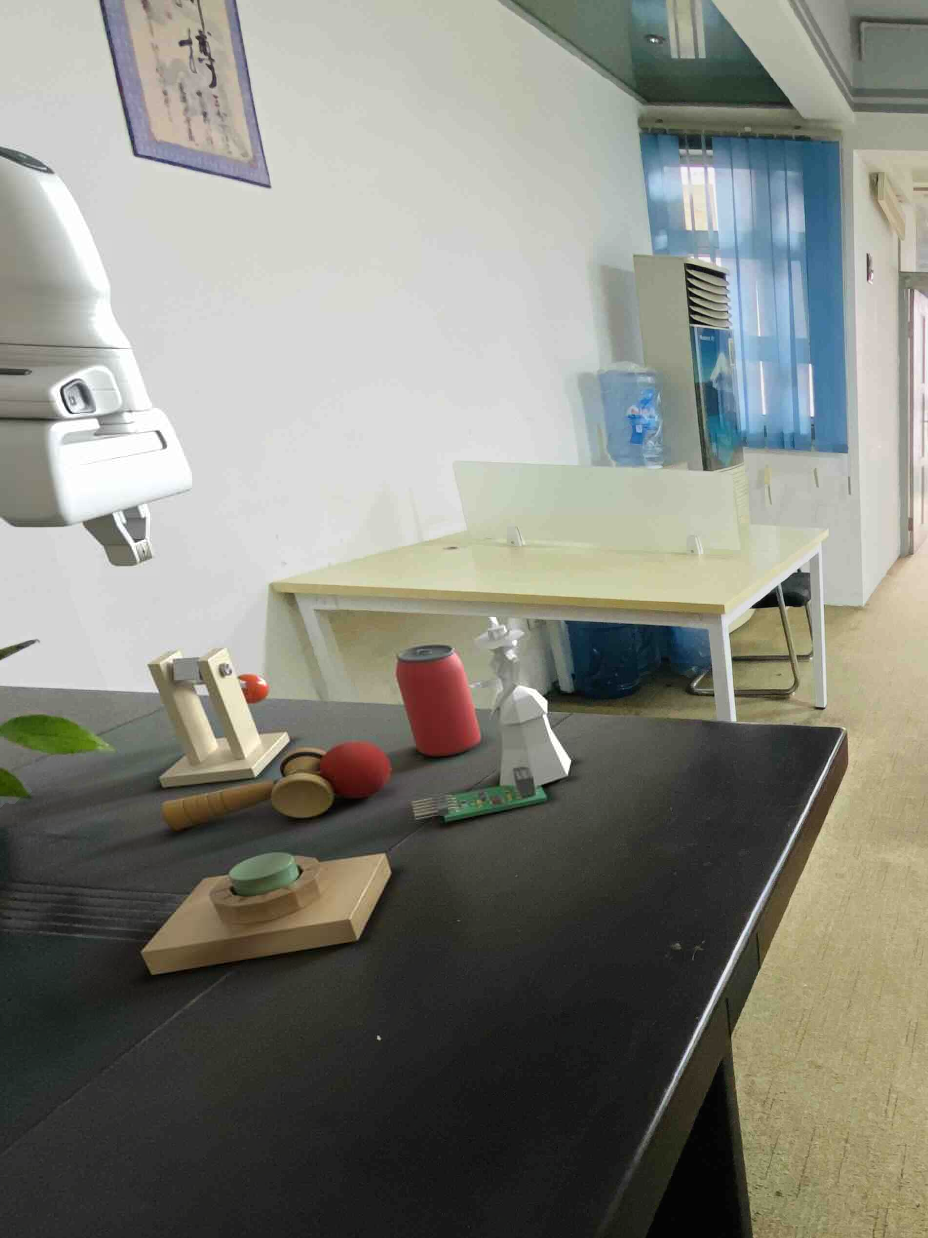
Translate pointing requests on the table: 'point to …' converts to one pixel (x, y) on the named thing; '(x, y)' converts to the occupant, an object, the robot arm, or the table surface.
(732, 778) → the table surface
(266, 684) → the lever
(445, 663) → the beer can
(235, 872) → the button
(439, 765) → the table surface
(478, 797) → the circuit board
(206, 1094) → the table surface
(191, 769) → the bracket
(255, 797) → the kendama
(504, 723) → the figurine
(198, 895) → the button block
